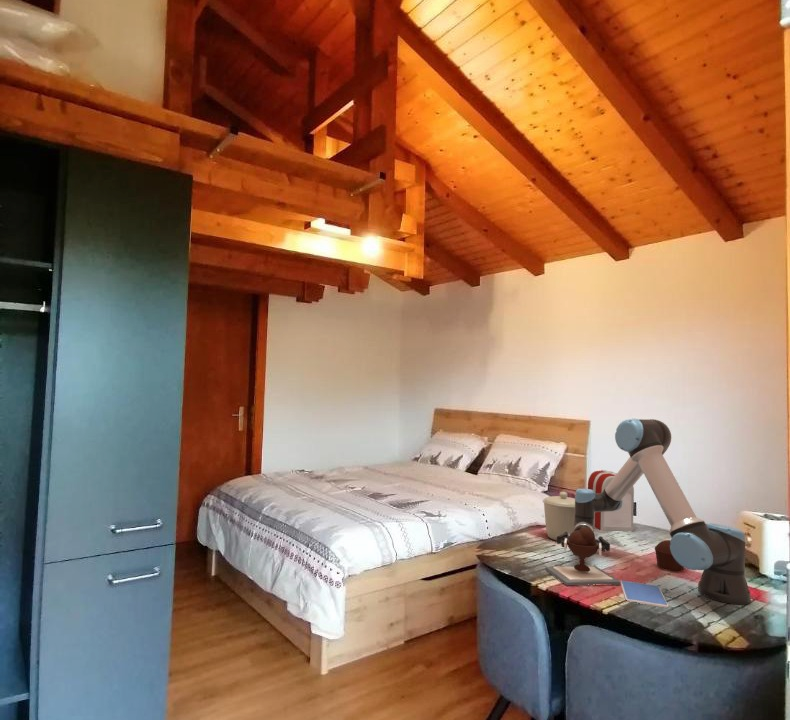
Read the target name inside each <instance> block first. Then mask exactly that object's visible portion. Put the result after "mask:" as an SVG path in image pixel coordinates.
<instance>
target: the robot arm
mask: <svg viewBox="0 0 790 720" xmlns="http://www.w3.org/2000/svg"><path fill="white" fill-rule="evenodd" d="M614 439H615V440H614V441H615V443H616V446H617V447H618V448H619V449H620V450H621V451H622V452H623V451H624V452H627V454H628V455H629V458H627V460H626V461H625V463H624V464H623V465H622V466H621V467H620V469H619V470H618V472H616V473H617V474H616V475H615V477H614V478H613V479H612V481H611V482H610V483H609V484H608V486H607V487H606V488H605V489H604V490H603V492H602V493H595V492H594V491H593V490H591V489H588V488H577V489H576V490H575V495H574V499H575V518H574V531H576V530H579V529H580V528H582V527H588V528H590V529H591V530H592V531H593V532H594V531H595V527H594V512H606V511H615V510H619V509H620V508H621V507H622V503H623V501H622V498H623V497H624V496H625V495H626V494H627V492H628V491H629V490H630V489H631V488H632V487H634V486H635V484H636V483H637V482H638V480H640V478H641V477H642V476H644V477H645V478H646V481H647V482H648V484H649V487H650V488H651V490H652V492H653V494H654V496H655V498H656V500H657V502H658V504H659V505H660V508H661V509H662V511H663V514H664V516H665V517H666V520H667V521H668V523H669V526H670V529H669V532H668V533H669V536H670V537H671V538H670V540H671V541H670V543H671V545H670V550H671V553H672V555H673V557H674V559H675V560H676V561H677V562H678V563H679V564H680V565H681V566H683V567H684V568H686V569H687V570H691V571H702V575H701V576H700V580H699V581H698V583H697V591H698V593H699V594H701V595H702V596H704V597H706V598H709V599H711V600H714V601H718V602H721V603H726V604H731V605H749V603H751V601H752V600H751V599H752V598H751V597H752V595H751V592H750V589H749V586H748V582H747V579H746V575H745V570H746V567H745V566H746V543H747V541H746V535H745V532H744V531H743V530H741V529H739V528H736V527H732V526H729V525H728V526H727V525H723V524H717V523H714V522H713V523H711V522H705V520H703V519H701V518H698V517H697V515H696V513H695V511H694V510H693V508H692V506H691V505H690V502H689V500H688V499H687V497H686V495H685V493H684V492H683V490H682V488H681V485H679V482H678V481H677V478H676V477H675V475H674V473H673V472H672V470H671V467H670V466H669V464H668V463H667V460H666V458H665V456H664V454H665V453H666V452H667V451H668V449H669V447H670V445H671V442H672V433H671V430H670V428H669V427H668V425H667V424H666V423H665V422H663V421H661V420H658V419H653V418H652V419H649V418H648V419H642V418H641V419H638V418H632V419H631V418H630V419H625V420H622V421H620V423H618V425H617V427H616V431H615V433H614ZM594 533H595V532H594ZM569 536H570V535H569V533H568V532H565V533H564V534H562V535H559V536H557V540H556V544H557V545H561V548H563V551H565V552H566V551H567V549H568V545H567V539H569ZM595 540H596V542H597V543H598V544H599V548H598V556H602V552H605V551H607V552H610V550H611V543H609V542H608V541H607V540H605V538H603V536H598V537H595Z"/></svg>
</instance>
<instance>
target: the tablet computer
mask: <svg viewBox="0 0 790 720" xmlns="http://www.w3.org/2000/svg"><path fill="white" fill-rule="evenodd" d="M619 581H620V582H621V583H620V586H621V589H622V592H623V595H624V599H626V600H627V601H626V600H625V601H626V602H628V601H631V602H630V603H632V602H637V603H636V604H638V603H640V604H641V605H645V604H646V605H645V606H651V605H652V606H653V607H659V608H669V607H670V606H669V604H668V602H667V600H666V598H665V596H664V594H663V592H662V589H661V587H660V586H658V585H655V584H654V585H653V584H646V583H642V582H641V583H640V582H634V581H626V580H619Z"/></svg>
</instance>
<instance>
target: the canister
mask: <svg viewBox="0 0 790 720" xmlns="http://www.w3.org/2000/svg"><path fill="white" fill-rule="evenodd" d="M542 503H543V509H544V521H545V529H546V535H547V536H548V538H549V539H551V540H554V541H557V536H559V535H562V534H564V533H565V532H568V533H569V535H570V534H571V533H572V532H574V518H575V497H568V492H566V491H560V492H559V494H558V495H557V496H556V495H555V496H554V495H553V496H547V497H546V498H543V499H542Z"/></svg>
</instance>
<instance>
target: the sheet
mask: <svg viewBox="0 0 790 720" xmlns="http://www.w3.org/2000/svg"><path fill="white" fill-rule="evenodd" d="M567 566H568V565H567ZM567 566H552V567H553V569H555V570H556V571H557V572H559V573H560V574H561V575H563V576H564V577H566V578H567V579H568V580H570V581H593V580H613V579H612V578H611V577H609V576H608V575H606V574H605V573H603V572H601V571H600V570H598V569H597V568H595V567H593V566H594V565H589V566H588V565H587V566H588V567H589V568H590V571H587V572H583V571H578V570H576V569H575V568H574V566H575V565H574V566H573V565H572V566H568V567H567Z"/></svg>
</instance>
